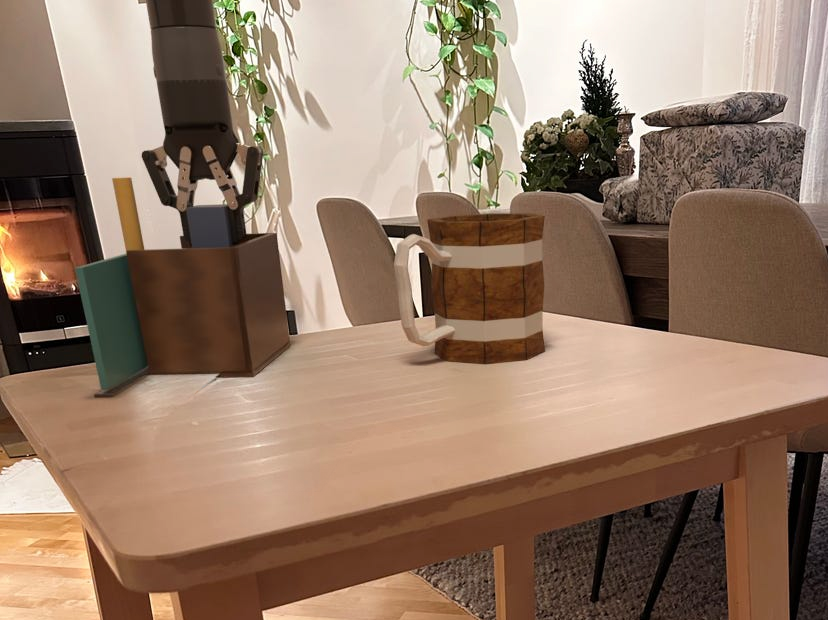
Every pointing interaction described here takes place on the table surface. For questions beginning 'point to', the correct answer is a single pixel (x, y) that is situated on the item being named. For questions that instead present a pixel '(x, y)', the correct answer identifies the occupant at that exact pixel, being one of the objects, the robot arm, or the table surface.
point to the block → (209, 226)
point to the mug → (479, 287)
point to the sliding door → (115, 300)
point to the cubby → (209, 309)
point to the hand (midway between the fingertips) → (216, 244)
